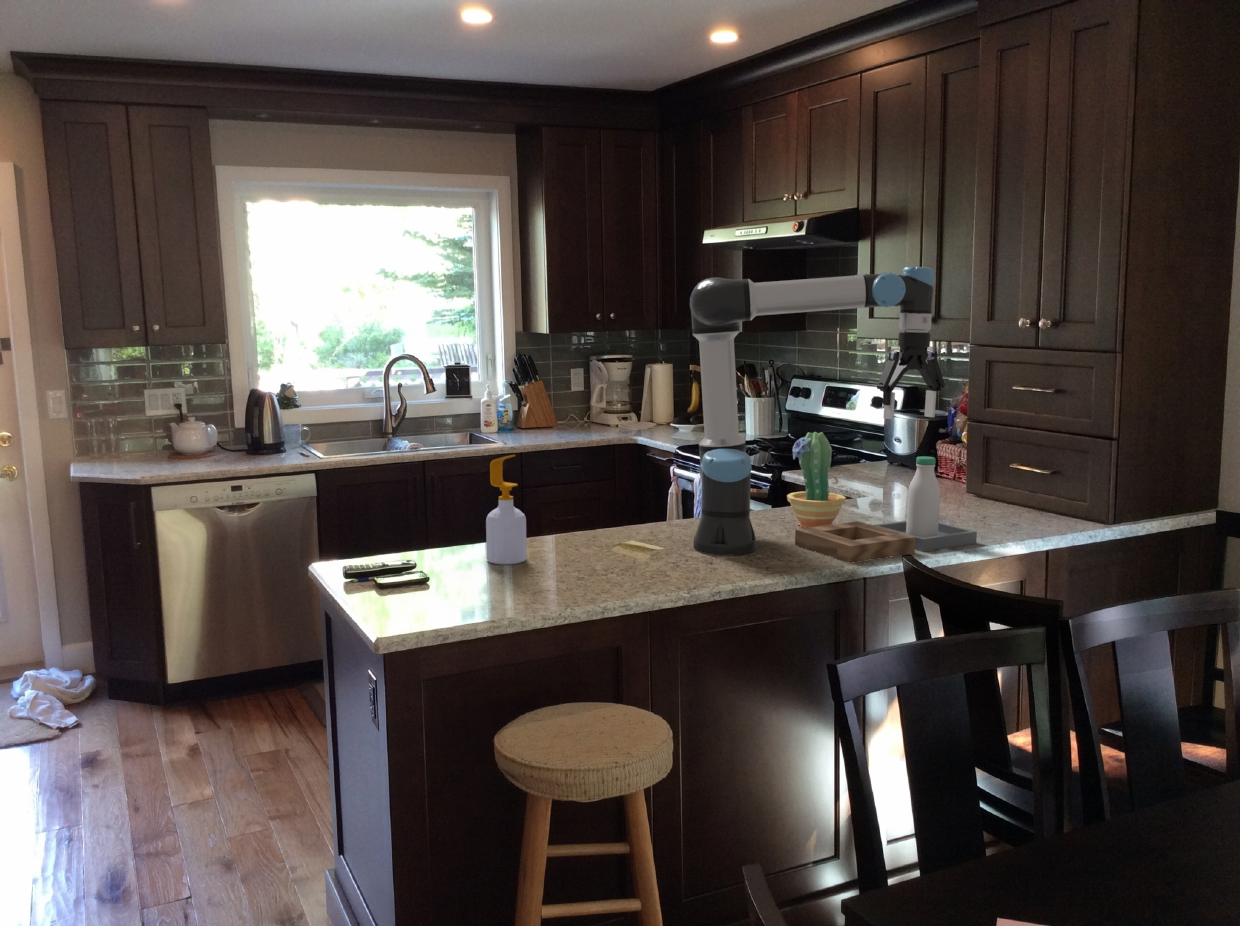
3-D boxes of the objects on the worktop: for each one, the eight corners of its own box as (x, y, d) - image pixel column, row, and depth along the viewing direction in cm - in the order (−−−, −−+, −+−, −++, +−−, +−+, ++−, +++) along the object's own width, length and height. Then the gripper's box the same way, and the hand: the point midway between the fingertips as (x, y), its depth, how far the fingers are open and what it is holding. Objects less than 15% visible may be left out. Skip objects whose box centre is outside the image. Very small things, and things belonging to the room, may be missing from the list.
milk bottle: (939, 540, 259) (943, 460, 256) (906, 538, 261) (911, 459, 258) (936, 533, 267) (940, 455, 264) (904, 532, 268) (908, 454, 265)
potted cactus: (786, 518, 289) (789, 428, 286) (844, 521, 287) (847, 429, 283) (785, 530, 274) (787, 435, 271) (845, 533, 272) (849, 437, 268)
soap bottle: (510, 567, 236) (509, 458, 232) (478, 561, 241) (476, 455, 237) (534, 558, 244) (533, 453, 240) (503, 553, 248) (501, 450, 245)
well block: (849, 563, 241) (850, 546, 240) (795, 545, 258) (795, 529, 257) (914, 553, 250) (915, 536, 250) (857, 536, 268) (858, 521, 267)
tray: (922, 551, 252) (923, 539, 252) (870, 536, 268) (871, 525, 267) (976, 543, 261) (976, 531, 260) (922, 529, 276) (923, 518, 276)
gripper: (886, 331, 248) (881, 421, 251) (963, 332, 260) (957, 417, 263) (865, 330, 255) (860, 417, 258) (940, 331, 266) (935, 414, 270)
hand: (909, 417), depth 261 cm, fingers open, 13 cm apart
